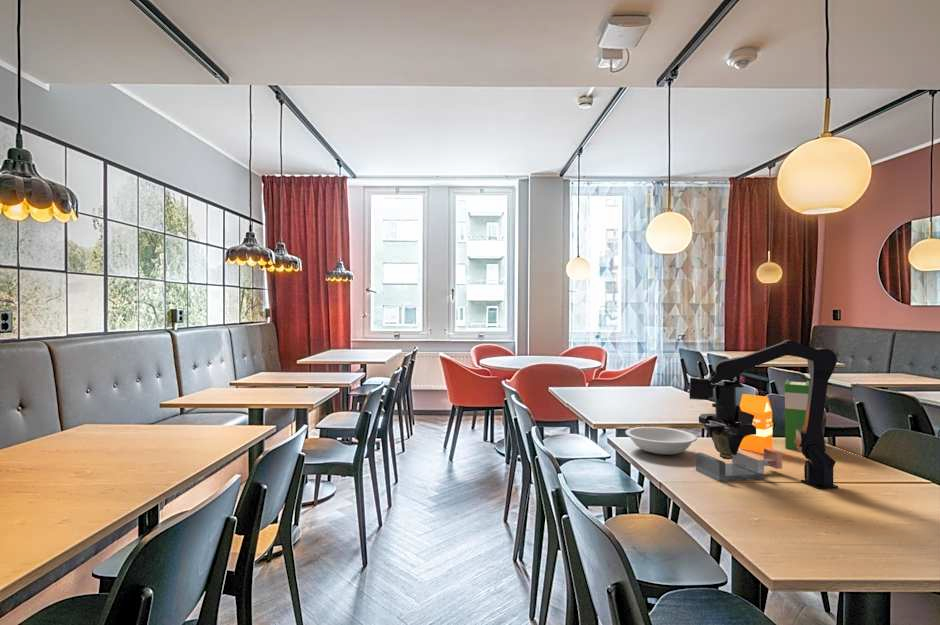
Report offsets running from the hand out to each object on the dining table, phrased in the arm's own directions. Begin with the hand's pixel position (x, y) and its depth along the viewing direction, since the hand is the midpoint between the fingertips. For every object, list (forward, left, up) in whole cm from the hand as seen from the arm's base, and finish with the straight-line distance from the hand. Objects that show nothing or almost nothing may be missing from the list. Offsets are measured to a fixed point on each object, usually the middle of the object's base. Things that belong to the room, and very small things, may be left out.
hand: (726, 451), depth 148 cm
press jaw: (0, -12, -5) cm, 13 cm away
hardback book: (+27, -52, -7) cm, 59 cm away
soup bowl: (+27, +6, -7) cm, 28 cm away
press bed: (0, -1, -7) cm, 7 cm away
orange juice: (+24, -31, -7) cm, 40 cm away
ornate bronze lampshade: (0, 0, -2) cm, 2 cm away
